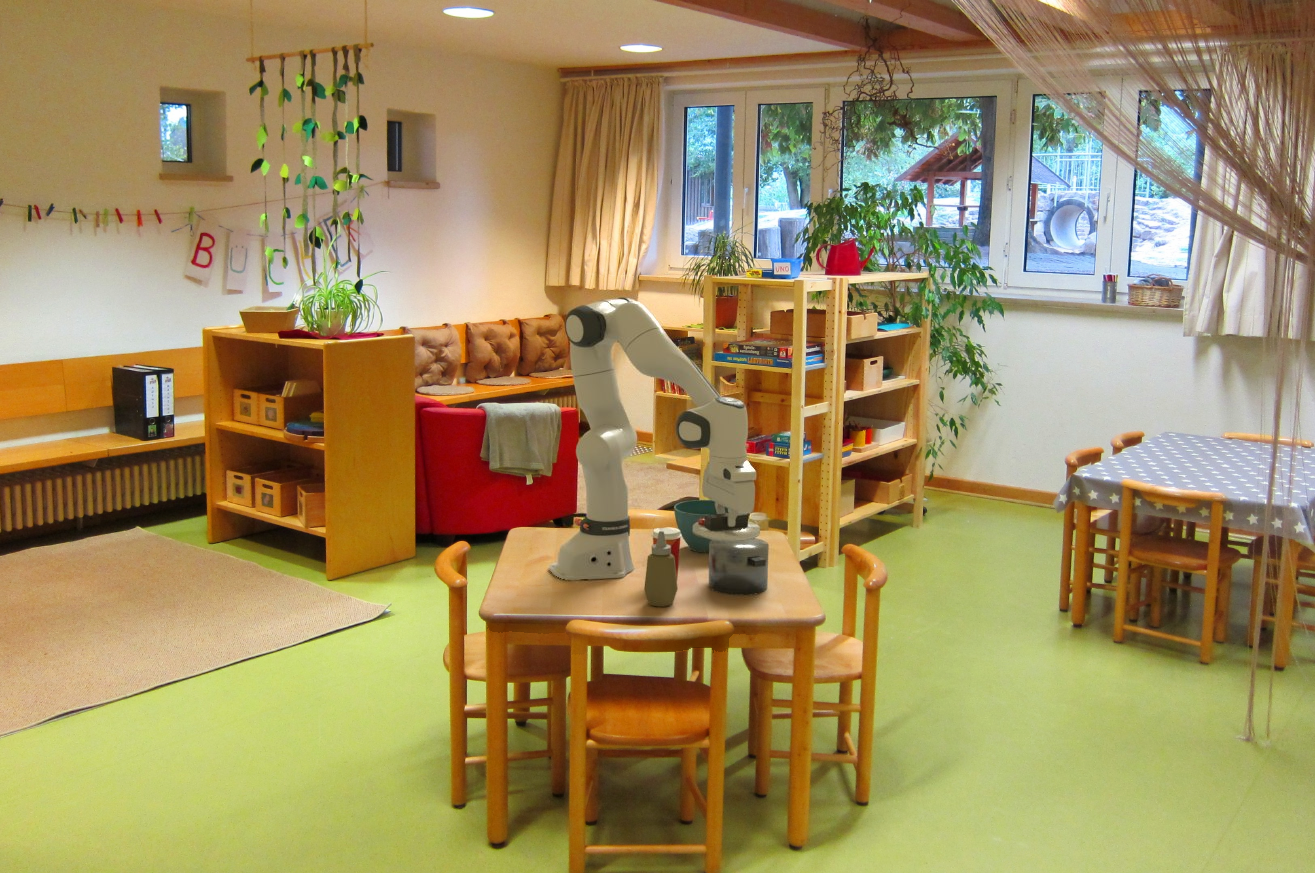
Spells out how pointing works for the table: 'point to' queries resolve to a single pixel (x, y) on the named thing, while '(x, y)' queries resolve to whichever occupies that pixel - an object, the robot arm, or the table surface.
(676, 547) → the paper cup
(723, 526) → the lid
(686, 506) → the teal bowl
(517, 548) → the table surface
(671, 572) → the squeeze bottle
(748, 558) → the pot
